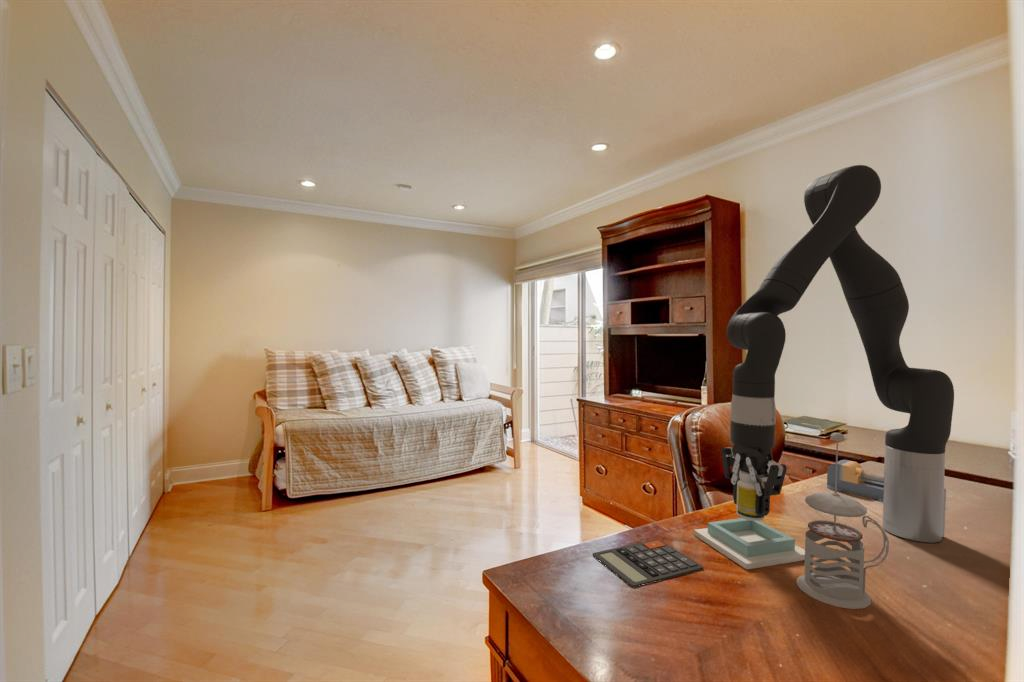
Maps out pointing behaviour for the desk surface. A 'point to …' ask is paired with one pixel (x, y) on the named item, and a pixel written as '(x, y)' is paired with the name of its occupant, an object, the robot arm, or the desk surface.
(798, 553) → the dock socket
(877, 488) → the vise
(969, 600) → the desk surface
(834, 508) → the french press
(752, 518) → the supplement bottle
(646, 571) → the calculator
